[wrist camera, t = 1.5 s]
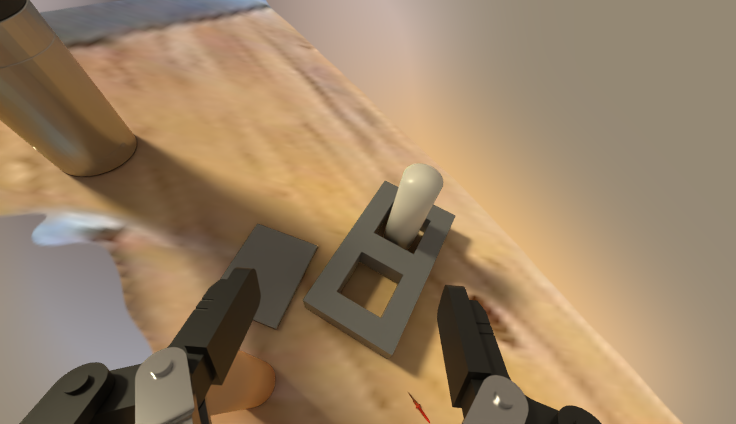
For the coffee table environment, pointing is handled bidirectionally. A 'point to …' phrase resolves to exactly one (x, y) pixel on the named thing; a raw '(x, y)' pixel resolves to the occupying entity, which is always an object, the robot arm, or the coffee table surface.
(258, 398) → the peg
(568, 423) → the robot arm
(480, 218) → the coffee table surface
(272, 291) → the lid plate
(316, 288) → the housing
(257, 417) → the coffee table surface
